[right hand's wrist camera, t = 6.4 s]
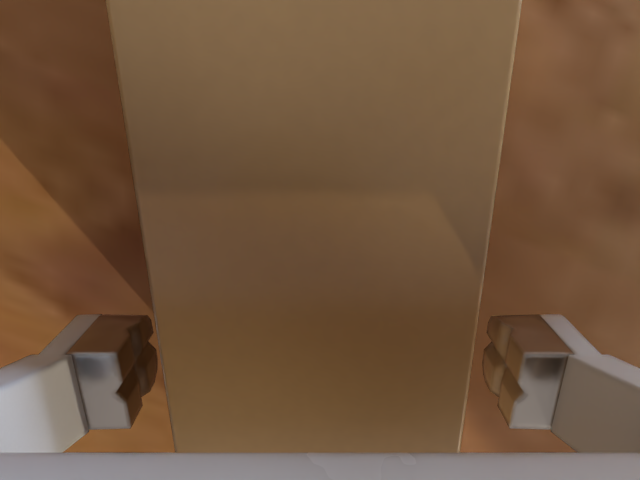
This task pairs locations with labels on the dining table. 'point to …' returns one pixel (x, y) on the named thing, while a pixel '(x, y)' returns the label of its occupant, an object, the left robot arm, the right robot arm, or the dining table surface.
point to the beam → (315, 212)
